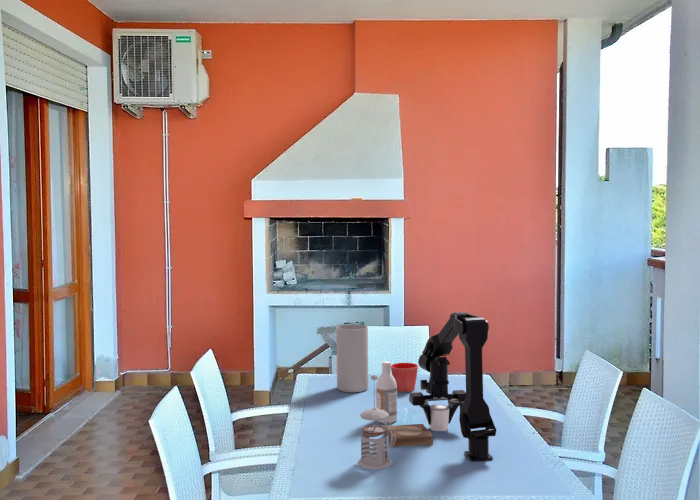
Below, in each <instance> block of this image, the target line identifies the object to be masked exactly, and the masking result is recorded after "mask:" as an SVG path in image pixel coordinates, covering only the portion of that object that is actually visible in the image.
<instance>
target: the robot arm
mask: <svg viewBox="0 0 700 500" xmlns="http://www.w3.org/2000/svg"><path fill="white" fill-rule="evenodd" d="M489 329H490V325H489V323H488V320H486V319H485V317H483V316H478V315H474V314H470V313H468V312H465V311H459V312H453V313H451V314H450V315H449V319H448V320H447V321H446V323H445V324H444V326H443V327H442V328H441V330H440V331H439V333H436V334H434V335H432V336H430V337H429V338H428V339H427V341H426V343H425V346H424V349H423V350H422V352H421V353H422V354H420V355H419V357H418V359H417V360H418V361H417V362H418V364H417V365H418V367H420V368H421V369H423V370H424V371H426V372H428V373H429V379H428V380H427V379H421V380H420V384H419V385H420V390H421V391H425V392H426V393H427V394H426V395H425V394H423V393H422V392H421V391H418V392H417V391H416V392H410V393H409V395H408V401H409V402H410V404H411V405H412V406H415V407H416V406H419V407H420V408H422V411H423V412H424V415H425V418H426V422H427V424H428V425H429V426H430V423H431V415H430V406H431V405H430V404H429V402H431V401H432V402H436V401H447V406H448V407H449V408H450V411H449V422H448V424H450V423H451V421H452V419H453V417H454V415H455V413H456V411H457V410H458V408H459V417H458V419H459V421H458V422H459V425H460V433H461V436H462V437H463V438H464V439H468V441H467V443H468V444H467V446H468V450H465V451H464V454H465V456H466V457H467V458H468V459H469V460H470V462H472V461H473V462H475V461H489V460H490V461H491V460H493V459H494V457H493V455H491V454H490V453H489V452H490V451H489V446H490V445H489V443H490V441H489V440H490V439H489V438H490V437H496V435H497V428H496V426H495V422H494V420H493V417H492V415H491V413H490V407H489V405H488V404H487V402H486V400H485V399H484V381H483V380H484V375H483V374H484V373H483V372H484V371H483V368H484V366H483V347H484V346H485V344H486V343H487V341H488V339H489V337H488V336H489ZM457 337H458V339H459V341H460V342H461V344H462V346H463V347H464V355H465V357H464V359H465V361H464V362H465V363H464V364H465V390H463V389H456V390H452V393H449V385H450V381H449V375H448V374H449V365H451V362H450V360H449V359H447V357H446V356H448V355H450V354H451V352H452V350H453V342H454V340H455V339H457Z"/></svg>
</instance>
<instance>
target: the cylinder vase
mask: <svg viewBox="0 0 700 500" xmlns="http://www.w3.org/2000/svg"><path fill="white" fill-rule="evenodd" d="M335 329H336V330H335V331H336V338H335V339H336V389H337V390H338V391H340V392H343V393H361V392H364V391H365V392H366V391H367V390H368V388H369V326H368V325H366V324H360V323H359V324H358V323H348V324H339V325H337V326H336V327H335Z"/></svg>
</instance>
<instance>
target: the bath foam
mask: <svg viewBox="0 0 700 500" xmlns="http://www.w3.org/2000/svg"><path fill="white" fill-rule="evenodd" d="M391 365H392V363H391V361H389V360H388V361H387V360H385V361H382V362H381V374H380V375H379V377H378V378H377V381H376V388H375V390H376V391H375V393H376V394H375V395H376V396H375V397H376V399H375V403H376V404H375V408H378V409H381V410H384V411H386V412H387V413H388V414H389V416H388V418H386V419H383V420H377V421H376V422H378V423H381V424H384V423H386V424H387V422H390V423H391V424H393V422H394V423H395V421H396V419H397V420H398V391H397V384H396V381H395V379H394V377H393V375H392V371H391ZM396 422H397V421H396ZM390 423H389V424H390Z"/></svg>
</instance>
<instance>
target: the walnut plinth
mask: <svg viewBox="0 0 700 500" xmlns="http://www.w3.org/2000/svg"><path fill="white" fill-rule="evenodd" d="M386 426H387V425H386ZM388 426H389V428H390V429H389V428H388ZM388 426H387V427H386V428H387V431H386V432H387V433H388V440H389V442H391V432H392V444H391V445H393V443H394V441H395V432H396V441H395V443H394V445H393V446H392V447H393V448H399V447H401V448H402V447H415V446H416V447H417V446H429V445H430V446H431V445H432V446H433V445H434V435H432V433H431V432H430V431H429V430H428V428H427V426H425V425H424V423H415V424H413V423H411V424H400V425H396V424H395V425H393V427H394V429H395V432H394V429H393V427H392V425H388ZM390 430H391V432H390Z"/></svg>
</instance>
